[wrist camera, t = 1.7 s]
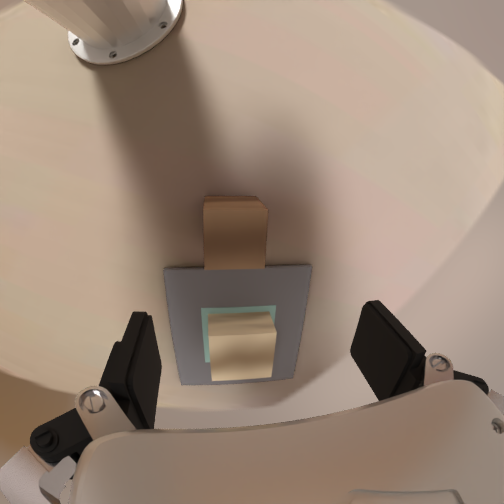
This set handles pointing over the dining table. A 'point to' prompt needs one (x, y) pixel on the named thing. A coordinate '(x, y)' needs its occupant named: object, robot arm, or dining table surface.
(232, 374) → the maple block
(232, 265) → the walnut block
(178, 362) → the build mat
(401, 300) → the dining table surface
